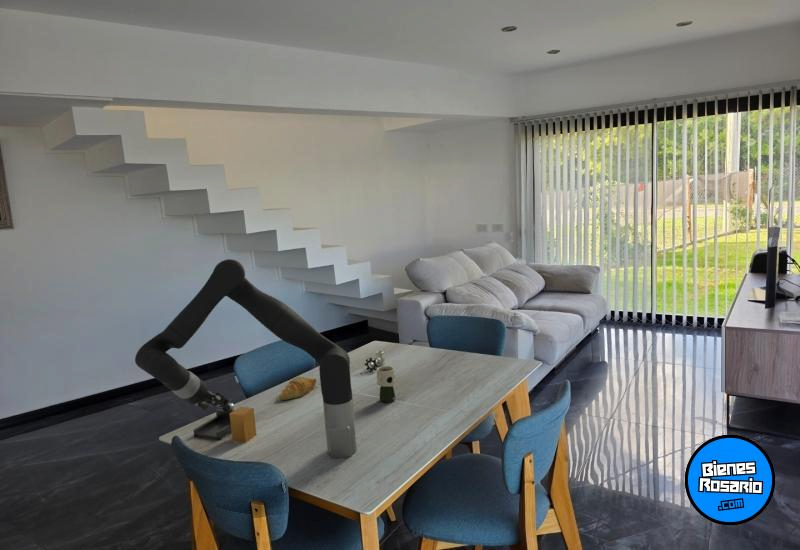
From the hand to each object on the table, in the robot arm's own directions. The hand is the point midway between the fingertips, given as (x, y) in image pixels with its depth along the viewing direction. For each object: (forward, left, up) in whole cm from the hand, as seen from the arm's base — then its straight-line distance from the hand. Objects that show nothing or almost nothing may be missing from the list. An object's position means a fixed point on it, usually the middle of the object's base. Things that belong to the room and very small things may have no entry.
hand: (217, 408), depth 176 cm
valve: (+76, -54, -16) cm, 94 cm away
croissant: (+51, -19, -16) cm, 56 cm away
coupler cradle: (+19, +5, -15) cm, 25 cm away
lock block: (+10, -5, -15) cm, 19 cm away
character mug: (+33, -56, -16) cm, 67 cm away
